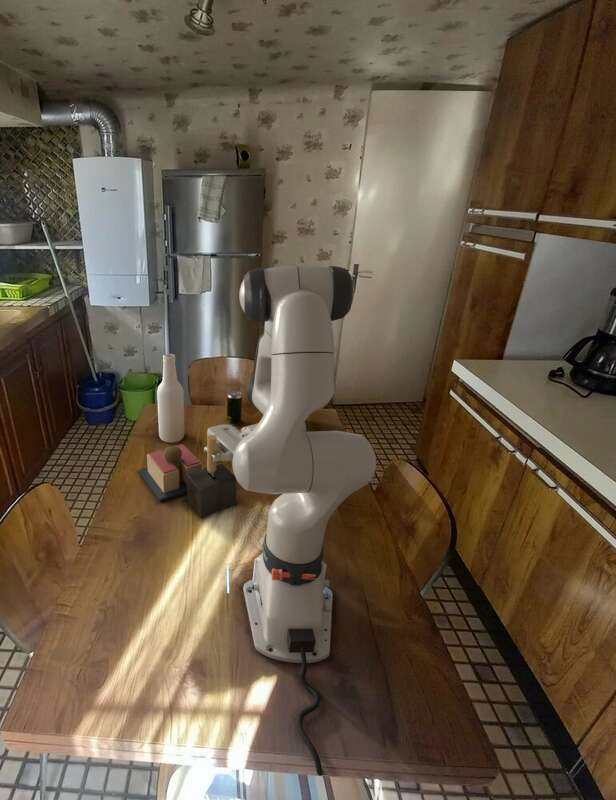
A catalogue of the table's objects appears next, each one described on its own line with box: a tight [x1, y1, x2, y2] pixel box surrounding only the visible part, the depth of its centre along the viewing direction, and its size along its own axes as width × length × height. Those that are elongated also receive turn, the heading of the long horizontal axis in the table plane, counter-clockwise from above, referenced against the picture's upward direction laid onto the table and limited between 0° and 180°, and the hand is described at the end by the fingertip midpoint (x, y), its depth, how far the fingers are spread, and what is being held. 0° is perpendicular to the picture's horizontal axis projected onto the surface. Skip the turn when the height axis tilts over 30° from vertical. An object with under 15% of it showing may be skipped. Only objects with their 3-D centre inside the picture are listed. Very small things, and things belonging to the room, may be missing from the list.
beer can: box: [226, 389, 243, 426], centre depth 159 cm, size 5×5×12 cm
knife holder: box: [186, 463, 238, 519], centre depth 118 cm, size 8×11×9 cm
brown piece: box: [163, 445, 182, 483], centre depth 126 cm, size 6×6×11 cm
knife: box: [206, 435, 218, 480], centre depth 115 cm, size 2×2×21 cm
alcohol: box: [156, 353, 185, 444], centre depth 145 cm, size 9×9×30 cm
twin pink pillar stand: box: [138, 443, 203, 503], centre depth 128 cm, size 16×16×8 cm
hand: (209, 454), depth 112 cm, fingers closed on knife, 2 cm apart
